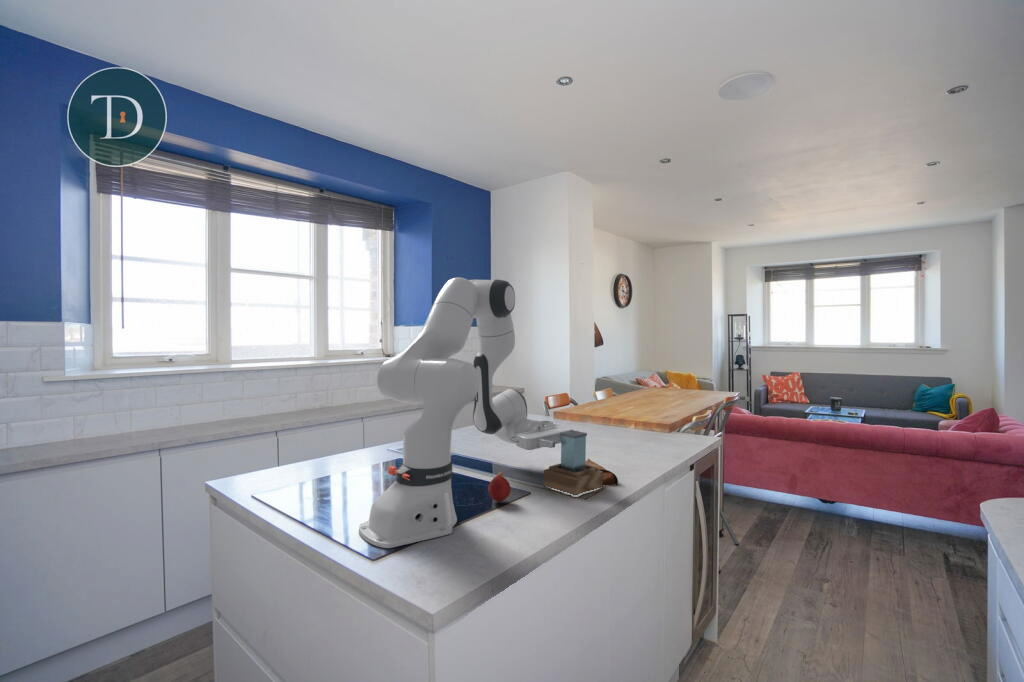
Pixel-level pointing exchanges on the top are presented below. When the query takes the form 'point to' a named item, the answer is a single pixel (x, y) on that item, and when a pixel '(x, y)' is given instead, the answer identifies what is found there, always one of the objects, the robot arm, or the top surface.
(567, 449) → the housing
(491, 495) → the onion
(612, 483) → the sunglasses case
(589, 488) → the walnut stand
